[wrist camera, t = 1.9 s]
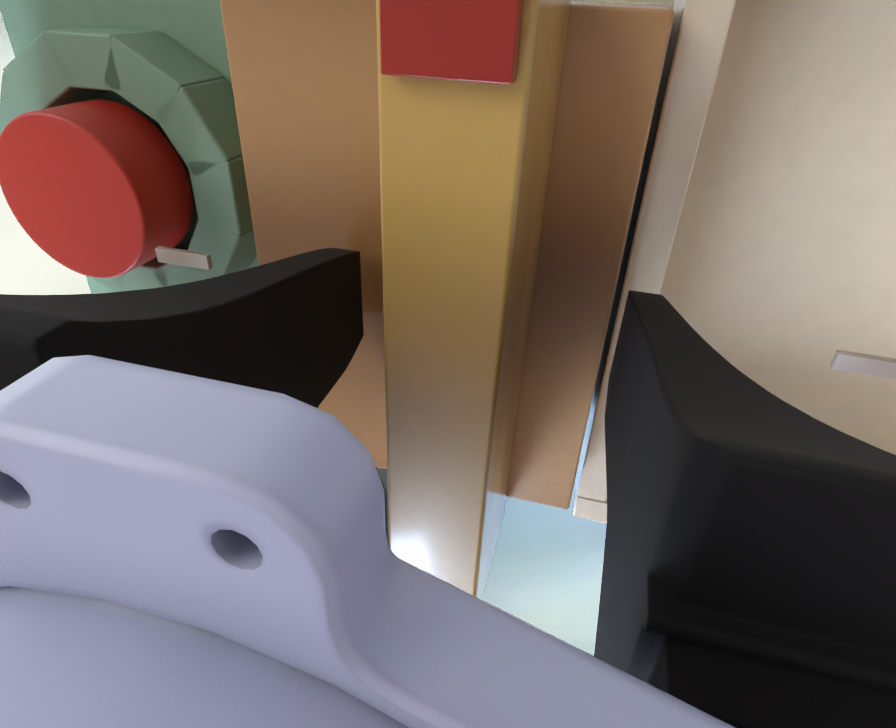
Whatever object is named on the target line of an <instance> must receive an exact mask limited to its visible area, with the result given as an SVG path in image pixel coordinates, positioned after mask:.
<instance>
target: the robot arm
mask: <svg viewBox="0 0 896 728" xmlns="http://www.w3.org/2000/svg"><path fill="white" fill-rule="evenodd" d="M363 336H364V331H363V309H362V287H361V265H360V251H353V250H346V249H339V248H324V249H319V250H314V251H310V252H306V253H302V254H298V255H295V256H291V257H288V258H284V259H281V260H277V261H274V262H270V263H267V264H263V265H260V266H256V267H252V268H249V269H245V270H241V271H237V272H233V273H229V274H225V275H221V276H217V277H213V278H209V279H204V280H199V281H194V282H189V283H183V284H177V285H171V286H165V287H158V288H151V289H141V290H131V291H121V292H111V293H98V294H78V295H2V294H0V728H896V455H895V454H892V453H889V452H887V451H884V450H882V449H880V448H877V447H875V446H873V445H870V444H868V443H866V442H864V441H861V440H859V439H857V438H855V437H852V436H850V435H848V434H846V433H843V432H841V431H839V430H837V429H835V428H833V427H831V426H829V425H827V424H825V423H823V422H821V421H819V420H817V419H815V418H813V417H811V416H810V415H808V414H806V413H804V412H803V411H801V410H799V409H797V408H795V407H794V406H792V405H790V404H788V403H787V402H785V401H783V400H782V399H780V398H778V397H777V396H775V395H774V394H772V393H770V392H769V391H767V390H766V389H764V388H763V387H762V386H760V385H759V384H757V383H756V382H755V381H753V380H752V379H750V378H749V377H747V376H746V375H745V374H743V373H742V372H741V371H739V370H738V369H737V368H736V367H734V366H733V365H732V364H731V363H729V362H728V361H727V360H726V359H725V358H724V357H723V356H721V355H720V354H719V353H718V352H717V351H716V350H715V349H713V348H712V347H711V346H710V345H709V344H708V343H707V342H706V341H705V340H704V339H703V338H702V337H701V336H700V335H699V334H698V333H697V332H696V331H695V330H694V329H693V328H692V327H691V326H690V325H689V323H688V322H687V321H686V320H685V319H684V318H683V317H682V316H681V315H680V314H679V312H678V311H677V310H676V309H675V308H674V307H673V306H672V305H671V304H670V302H669V301H668V300H667V299H666V298H665V297H664V296H663V295H660V294H653V293H646V292H639V291H632V290H629V292H628V296H627V301H626V305H625V309H624V314H623V318H622V323H621V327H620V331H619V336H618V340H617V345H616V349H615V353H614V358H613V362H612V367H611V371H610V375H609V382H608V390H607V399H606V408H605V453H606V483H607V528H606V539H605V551H604V563H603V574H602V584H601V595H600V605H599V616H598V625H597V635H596V644H595V654H594V656H592V655H590V654H588V653H586V652H584V651H582V650H580V649H578V648H576V647H574V646H572V645H570V644H568V643H566V642H564V641H562V640H560V639H558V638H556V637H555V636H553V635H551V634H549V633H547V632H545V631H543V630H541V629H539V628H537V627H535V626H533V625H531V624H529V623H527V622H525V621H523V620H521V619H519V618H517V617H515V616H513V615H511V614H509V613H507V612H505V611H503V610H501V609H499V608H497V607H495V606H493V605H491V604H489V603H487V602H485V601H483V600H481V599H479V598H477V597H475V596H473V595H471V594H469V593H467V592H465V591H463V590H461V589H459V588H457V587H455V586H453V585H451V584H449V583H447V582H445V581H443V580H441V579H439V578H437V577H435V576H433V575H431V574H429V573H427V572H425V571H423V570H421V569H419V568H417V567H415V566H413V565H411V564H409V563H408V562H406V561H404V560H402V559H400V558H398V557H397V556H396V555H395V554H394V553H393V552H392V551H391V550H390V549H389V546H388V541H387V536H386V531H385V498H384V490H383V487H382V484H381V481H380V478H379V475H378V472H377V470H376V467H375V464H374V461H373V458H372V455H371V452H370V451H369V450H368V449H367V448H366V447H365V446H364V445H363V444H362V443H361V442H360V441H359V440H358V439H357V438H356V437H355V436H354V435H353V434H352V433H351V432H350V431H349V430H348V429H347V428H346V427H345V426H344V425H343V424H342V423H341V422H340V421H339V420H338V419H337V418H336V417H335V416H334V415H332V414H330V413H327V412H325V411H323V410H320V409H318V407H319V405H320V404H321V403H322V401H323V400H324V399H325V397H326V396H327V395H328V393H329V392H330V391H331V389H332V388H333V387H334V385H335V384H336V383H337V381H338V380H339V378H340V377H341V376H342V374H343V373H344V372H345V370H346V369H347V367H348V365H349V363H350V361H351V360H352V358H353V356H354V354H355V352H356V350H357V348H358V346H359V344H360V342H361V340H362V338H363Z"/></svg>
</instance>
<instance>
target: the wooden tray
mask: <svg viewBox="0 0 896 728" xmlns="http://www.w3.org/2000/svg"><path fill="white" fill-rule="evenodd" d="M672 10H674V19H673V23H672V28H671V33H670V37H669V42H668V47H667V52H666V56H665V61H664V66H663V70H662V75H661V80H660V84H659V89H658V94H657V98H656V103H655V108H654V112H653V117H652V122H651V126H650V131H649V136H648V140H647V145H646V150H645V154H644V159H643V164H642V168H641V173H640V178H639V182H638V187H637V192H636V196H635V201H634V206H633V210H632V215H631V220H630V224H629V229H628V234H627V238H626V243H625V248H624V253H623V257H622V262H621V267H620V271H619V276H618V281H617V285H616V290H615V295H614V299H613V304H612V309H611V313H610V318H609V323H608V327H607V332H606V337H605V341H604V346H603V351H602V355H601V360H600V365H599V369H598V374H597V379H596V383H595V388H594V393H593V397H592V402H591V407H590V411H589V416H588V421H587V425H586V430H585V435H584V439H583V444H582V449H581V454H580V458H579V464H578V472H577V481H576V489H575V498H574V506H573V516H576V517H580V518H585V519H589V520H594V521H598V522H603V523H607V483H606V453H605V408H606V399H607V390H608V382H609V375H610V371H611V367H612V362H613V358H614V353H615V349H616V345H617V340H618V336H619V331H620V327H621V323H622V318H623V314H624V309H625V305H626V301H627V296H628V292H629V290H632V291H639V292H646V293H653V294H660V295H663V296H664V297H665V298H666V299H667V300H668V301H669V302H670V304H671V305H672V306H673V307H674V308H675V309H676V310H677V311H678V312H679V314H680V315H681V316H682V317H683V318H684V319H685V320H686V321H687V322H688V323H689V325H690V326H691V327H692V328H693V329H694V330H695V331H696V332H697V333H698V334H699V335H700V336H701V337H702V338H703V339H704V340H705V341H706V342H707V343H708V344H709V345H710V346H711V347H712V348H713V349H715V350H716V351H717V352H718V353H719V354H720V355H721V356H723V357H724V358H725V359H726V360H727V361H728V362H729V363H731V364H732V365H733V366H734V367H736V368H737V369H738V370H739V371H741V372H742V373H743V374H745V375H746V376H747V377H749V378H750V379H752V380H753V381H755V382H756V383H757V384H759V385H760V386H762V387H763V388H764V389H766V390H767V391H769V392H770V393H772V394H774V395H775V396H777V397H778V398H780V399H782V400H783V401H785V402H787V403H788V404H790V405H792V406H794V407H795V408H797V409H799V410H801V411H803V412H804V413H806V414H808V415H810V416H811V417H813V418H815V419H817V420H819V421H821V422H823V423H825V424H827V425H829V426H831V427H833V428H835V429H837V430H839V431H841V432H843V433H846V434H848V435H850V436H852V437H855V438H857V439H859V440H861V441H864V442H866V443H868V444H870V445H873V446H875V447H877V448H880V449H882V450H884V451H887V452H889V453H892V454H895V455H896V379H892V378H885V377H879V376H873V375H867V374H860V373H854V372H848V371H841V370H835V369H831V367H830V363H831V361H832V359H833V357H834V354H835V352H836V350H843V351H850V352H856V353H863V354H869V355H876V356H882V357H889V358H896V0H674V4H673V9H672Z"/></svg>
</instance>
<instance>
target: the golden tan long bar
mask: <svg viewBox="0 0 896 728" xmlns="http://www.w3.org/2000/svg"><path fill="white" fill-rule="evenodd" d="M570 6H571V0H376V20H377V62H378V105H379V147H380V189H381V232H382V274H383V317H384V359H385V402H386V444H387V487H388V529H389V549H390V550H391V551H392V552H393V553H394V554H395V555H396V556H397V557H398V558H400V559H402V560H404V561H406V562H408V563H409V564H411V565H413V566H415V567H417V568H419V569H421V570H423V571H425V572H427V573H429V574H431V575H433V576H435V577H437V578H439V579H441V580H443V581H445V582H447V583H449V584H451V585H453V586H455V587H457V588H459V589H461V590H463V591H465V592H467V593H469V594H471V595H473V596H475V597H477V598H479V599H481V600H483V597H484V593H485V589H486V585H487V581H488V577H489V573H490V569H491V564H492V560H493V556H494V552H495V548H496V544H497V540H498V536H499V532H500V528H501V524H502V520H503V516H504V512H505V505H506V497H507V489H508V482H509V474H510V466H511V459H512V451H513V443H514V436H515V428H516V420H517V413H518V405H519V397H520V390H521V382H522V374H523V367H524V359H525V351H526V344H527V336H528V328H529V321H530V313H531V305H532V297H533V290H534V282H535V274H536V267H537V259H538V251H539V244H540V236H541V228H542V221H543V213H544V205H545V198H546V190H547V182H548V175H549V167H550V159H551V152H552V144H553V136H554V129H555V121H556V113H557V105H558V98H559V90H560V82H561V75H562V67H563V59H564V52H565V44H566V36H567V29H568V21H569V13H570Z"/></svg>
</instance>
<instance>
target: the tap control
mask: <svg viewBox="0 0 896 728" xmlns="http://www.w3.org/2000/svg"><path fill="white" fill-rule="evenodd" d="M0 10H1V13H2V16H3V20H4V23H5V26H6V29H7V32H8V35H9V38H10V41H11V44H12V48H13V51H14V54H15V58H14V59H13V60H12V61H11V62H10V63H9V64H8V65H7V66H6V67H5V68H4V69H3V70H4V73H3V77H2V88H1V99H0V135H1V133H2V131H3V130H4V128H5V127H6V126H7V124H8V123H9V122H10V121H11V120H12V119H14V118H15V117H17V116H18V115H21V114H23V113H26V112H30V111H35V110H40V109H46V108H51V107H56V106H61V105H66V104H72V103H77V102H82V101H87V100H93V99H104V100H110V101H114V102H117V103H120V104H123V105H125V106H128V107H130V108H132V109H134V110H135V111H137V112H139V113H140V114H142V115H143V116H145V117H146V118H147V119H148V120H150V121H151V122H152V123H153V124H154V125H155V126H156V127H157V128H158V129H159V130H160V131H161V132H162V133H163V134H164V135H165V136H166V138H167V139H168V140H169V141H170V143H171V144H172V146H173V147H174V148H175V150H176V152H177V153H178V155H179V157H180V158H181V160H182V163H183V165H184V167H185V169H186V172H187V174H188V177H189V180H190V184H191V188H192V194H193V216H192V221H191V225H190V227H189V229H188V232H187V234H186V235H185V237H184V238H183V240H182V241H181V242H180V243H179V244H178V245H176V246H175V247H173V248H175V249H181V250H188V251H195V252H201V253H208V254H210V255H211V260H212V265H213V268H212V269H210V270H206V269H199V268H193V267H187V266H180V265H174V264H168V263H162V262H158V259H157V257H155V258H154V259H152V260H150V261H148V262H146V263H145V264H143V265H141V266H139V267H137V268H135V269H134V270H132V271H130V272H128V273H126V274H124V275H122V276H118V277H114V278H96V277H91V276H86V277H87V280H88V284H89V287H90V290H91V293H92V294H98V293H111V292H121V291H131V290H141V289H151V288H158V287H165V286H171V285H177V284H183V283H189V282H194V281H199V280H204V279H209V278H213V277H217V276H221V275H225V274H229V273H233V272H237V271H241V270H245V269H249V268H252V267H256V266H259V265H258V258H257V251H256V244H255V238H254V231H253V224H252V217H251V210H250V203H249V197H248V190H247V183H246V176H245V169H244V163H243V156H242V149H241V142H240V135H239V128H238V122H237V115H236V108H235V101H234V94H233V88H232V81H231V74H230V67H229V60H228V54H227V47H226V40H225V33H224V26H223V19H222V13H221V6H220V0H0Z"/></svg>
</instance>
